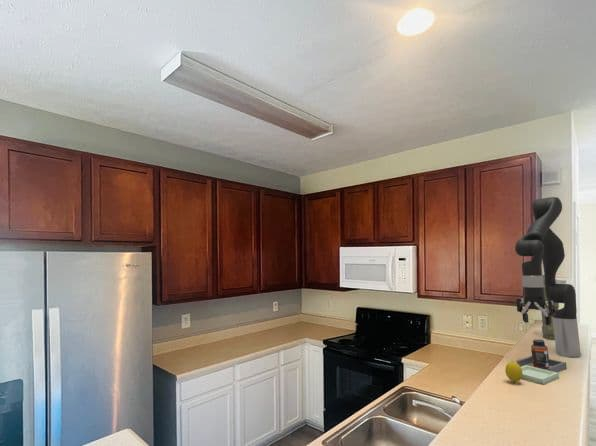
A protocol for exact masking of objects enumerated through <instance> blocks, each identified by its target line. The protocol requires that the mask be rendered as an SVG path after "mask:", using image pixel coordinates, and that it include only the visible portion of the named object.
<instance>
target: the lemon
mask: <svg viewBox="0 0 596 446" xmlns="http://www.w3.org/2000/svg"><path fill="white" fill-rule="evenodd" d="M521 367H522V366H521ZM521 367H520V365H519V364H517V362H515V361H513V360H511V361H509V362H508V363H507V364H506V365H505V370H504V371H505V376H506V377H507V379H509V380H510V381H512V383H514V384H516V383H517V382H519V381H521V380H523V379H522V375H523V373H522V369H521Z"/></svg>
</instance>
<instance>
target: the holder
mask: <svg viewBox="0 0 596 446" xmlns="http://www.w3.org/2000/svg"><path fill="white" fill-rule="evenodd" d="M516 363H517V364H519V365H520V367H522V366H525V365H527V366H528V365H529V364H533V361H532V355H529V356H526V357H523V358H521V359H518V360H516ZM549 364H550V367H549V368H548V369H547V370H548V371H552V372H557V373H560V372H562V371H564V370H567V362H565V361H559V360H556V359H551V358H549Z"/></svg>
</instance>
